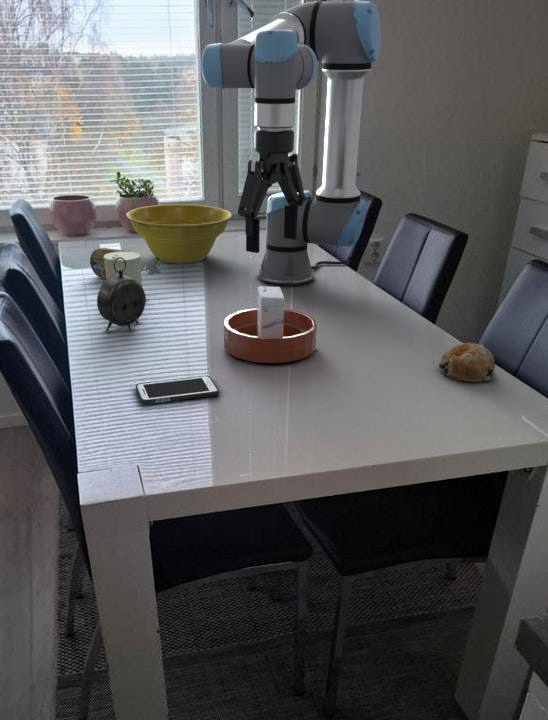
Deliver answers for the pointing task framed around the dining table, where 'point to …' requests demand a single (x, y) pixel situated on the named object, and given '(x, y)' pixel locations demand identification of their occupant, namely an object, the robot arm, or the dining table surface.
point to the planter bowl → (179, 230)
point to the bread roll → (468, 363)
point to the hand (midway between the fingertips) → (272, 245)
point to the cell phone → (176, 389)
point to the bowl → (270, 349)
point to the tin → (101, 260)
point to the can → (123, 264)
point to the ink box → (270, 312)
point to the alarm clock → (121, 300)
